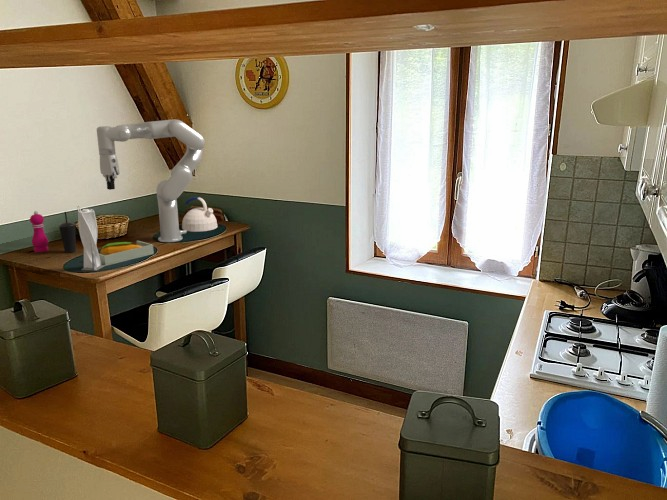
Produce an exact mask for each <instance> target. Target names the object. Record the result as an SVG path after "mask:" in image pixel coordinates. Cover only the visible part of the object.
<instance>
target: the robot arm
mask: <svg viewBox="0 0 667 500" xmlns="http://www.w3.org/2000/svg"><path fill="white" fill-rule="evenodd" d="M96 137H97V145H98V155H99V168H100V169H99V170H100V174H101V175H102V176H103V178H105V182H106V189H107V190H115V189H116V186H115V185H116V184H115V181H116V180H115V179H118V176H119V175H120V167H119V161H118V158H117V154H116V145H115V142H126V141H128V140H134V139H136V140H137V139H147V140H154V139H155V140H156V139H162V138H173V137H175V138H176V139H178V141H180V142H182V144H184V145H185V146H186V149H185V150H186V151H185V153H184V155H183V156H182V158H180V160H179V161H178V162H177V163H176V164H175V166H174V167H173V168H172V169H171V171H170V176H169V178H168V179H167V180H166V179H165V180H161V181H160V182H159V183H158V184H157V186H156V198H157V206H158V217H159V230H160V236H159V237H158V238H157V240H158V241H159V242H161V243H175V242H180V241H182V240H183V235H185V234H187V232H188V231H186V230H183V229H182V230H181V229H180V226H179V225H180V224H179V211H178V200H177V199H178V198H179V197H180V196H181V195H182V193H184V191H185V190H186V189H187V188H188V187H189V186H190V184H191V182H192V180H193V173H194V171H195V170H196V168H197V167H198V165H199V164H200V162H201V161H202V158H203V153H204V151H203V150H204V148H205V145H206V140H205V138H204V137H203V135H202V134H200V133H199V132H197V131H196V130H195V129H193V128H192V127H190V126H189V125H188V124H186V123H185V122H183V120H181V119H180V120H179V119H176V118H175V119H165V120H155V121H145V122H138V123H129V124H128V123H126V124H118V125H116V126H113V127H112V126H106V125H105V126H98V127H97V128H96Z"/></svg>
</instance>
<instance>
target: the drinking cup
mask: <svg viewBox="0 0 667 500" xmlns="http://www.w3.org/2000/svg"><path fill="white" fill-rule="evenodd" d="M64 218H65V221H64V222H62V223H60V224H58V225H57V226H58V228H59V232H60V237H61V240H62V245H63V250H64V253H66V254H72V253H75V252H76V251H77V250H76V249H77V247H76V246H77V245H76V243H77V242H76V225H77V224H76V223H74V222H71V221H68V217H67V211H64Z"/></svg>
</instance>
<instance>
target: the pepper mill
mask: <svg viewBox="0 0 667 500" xmlns="http://www.w3.org/2000/svg"><path fill="white" fill-rule="evenodd" d="M44 221H45V218H44V216H43V215H42V214H39V212H38V211H36V210H35V211H34V212H33V214H32V215H30V216H29V222H30V223H31V224H32V225H31V227H32V229H33V235H32V240H31V244H32V246H33V252H34V253H45V252H48V251H49V246H48V244H49V239H48V237H47V235H46V233H45V232H44Z"/></svg>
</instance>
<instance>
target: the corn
mask: <svg viewBox="0 0 667 500" xmlns="http://www.w3.org/2000/svg"><path fill="white" fill-rule="evenodd" d="M139 247H142V246H140V245H137V244H132V242H131V241H130V242H129V241H122V242H121V241H118V242H110V243H107V244H105V245H103V246H102V247H101V248H100V249H99V250H100V251H99V252H100V253H99V254H102V255H110V254H114V253H118V252H122V251H127V250H131V249H135V248H139Z"/></svg>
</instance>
